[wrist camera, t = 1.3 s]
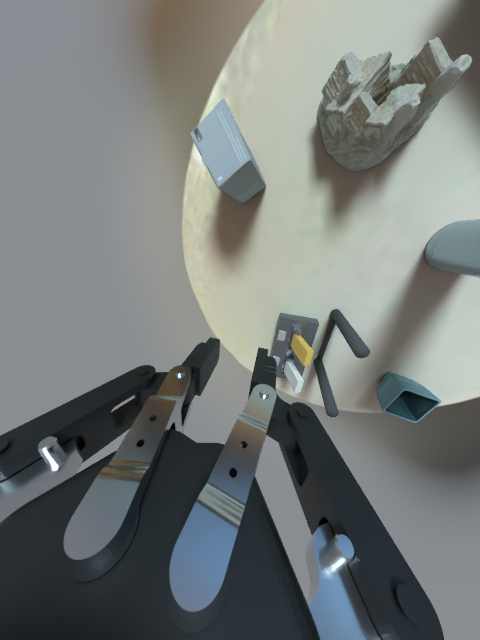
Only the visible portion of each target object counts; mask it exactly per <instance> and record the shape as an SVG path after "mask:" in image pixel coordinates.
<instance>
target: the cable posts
mask: <svg viewBox="0 0 480 640" xmlns="http://www.w3.org/2000/svg"><path fill="white" fill-rule="evenodd" d="M331 317H332V320H331V322H330V325H329V328H328V331H327V333H326V336H325V339H324V342H323V344H322V347H321V350H320V353H319V356H318V358H316V359H315V360H314V365H315V369H316V373H317V377H318V381H319V385H320V389H321V393H322V397H323V401H324V405H325V409H326V413H327V415H328V416H330V417H336V416H337V415H338V414H339V412H338V409H337V406H336V403H335V400H334V397H333V393H332V390H331V387H330V384H329V381H328V378H327V374H326V371H325V368H324V365H323V362H322V358H323V355H324V352H325V350H326V347H327V344H328V342H329V339H330V337H331V334H332V331H333V329H334V326H335V323H336V325H337V326H338V328H339V330H340V331H341V333H342V335H343V336H344V338H345V340H346V341H347V343H348V344H349V346H350V348H351V349H352V351H353V353H354V354H355V356H356V357H358V358H365V357H367V356H368V355H369V354H370V350H369V348H368V347H367V346H366V345H365V343H364V342H363V341H362V339H361V338H360V337H359V335H358V334H357V333H356V331H355V330H354V329H353V328H352V326H351V325H350V324H349V322H348V321H347V320H346V318H345V317H344V316H343V314H342V313H341V312H340V311H339V310H338V309H335V310H332V311H331Z"/></svg>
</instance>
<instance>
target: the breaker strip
mask: <svg viewBox="0 0 480 640" xmlns="http://www.w3.org/2000/svg"><path fill="white" fill-rule="evenodd" d="M318 326H319V323H318V320H317V319H313V318H307V317H301V316H295V315H290V314H284V313H280V317H279V322H278V326H277V331H276V335H275V340H274V345H273V349H272V354H271V357H274V358H275V360H276V362H277V367H276V376H279V377H283V378H287V377H286V375H285V373H284V368H285V364H286V361H289V362H293V364H294V365H295V367H296V369H297V370H298V372H299V374H300V375H301V377H302V374H303V371H304V368H305V366H303V365H302V363H301V362H300V360H299V359H298V357H297V355H296V354H295V352H294V351H293V349H292V348H291V346H290V345H291V342H292V338H293V334H298V335H301V336H302V338H303V339H304V340H305V341H306V343H307V344H308V345H309V346H310V347H312V344H313V341H314V338H315V335H316V332H317V329H318Z"/></svg>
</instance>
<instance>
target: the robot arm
mask: <svg viewBox="0 0 480 640" xmlns="http://www.w3.org/2000/svg"><path fill="white" fill-rule="evenodd" d="M425 258H426V261H427V262H428V264H429V265H431V266H432V267H434V268H437V269H441V270H446V271H451V272H455V273H460V274H465V275H469V276H474V277H479V278H480V219H478V220H467V221H458V222H455V223H452V224H449V225H447V226H445V227H444V228H442V229H441V230H439V231H438V232H437V233H436V234H435V235H434V236H433V237H432V238H431V239H430V241H429V243H428V244H427V247H426V251H425ZM219 349H220V339H216V338H209V339H208V341H207V342H206V343H203V342H202V343H200V344H198V345H197V346H196V347H195V348H194V350H193V351H192V352H191V354H190V355H189V356H188V357H187V359H186V360H185V361H184V362H183V364H182V365H179V366H175V367H173V368H172V369H171V370H170V371H169V372H156V371H155V368H154V367H153V366H150V365H144V366H140V367H137V368H135V369H133V370H131V371H129V372H127V373H125V374H123V375H121V376H119V377H117V378H116V379H113V380H111V381H109V382H107V383H105V384H103V385H101V386H100V387H97V388H95V389H93V390H91V391H89V392H87V393H85V394H83V395H81V396H79V397H77V398H75V399H73V400H71V401H69V402H67V403H65V404H63V405H61V406H59V407H57V408H55V409H53V410H51V411H49V412H47V413H45V414H43V415H41V416H39V417H37V418H35V419H33V420H31V421H29V422H27V423H25V424H23V425H21V426H19V427H17V428H15V429H13V430H11V431H9V432H7V433H5V434H3V435H1V436H0V640H444V636H443V632H442V628H441V625H440V622H439V619H438V617H437V614H436V612H435V610H434V608H433V606H432V604H431V602H430V600H429V598H428V597H427V595H426V593H425V592H424V590H423V589H422V587H421V585H420V584H419V582H418V580H417V579H416V577H415V575H414V574H413V572H412V571H411V569H410V567H409V566H408V564H407V562H406V561H405V559H404V558H403V556H402V554H401V553H400V551H399V549H398V548H397V546H396V545H395V543H394V542H393V540H392V538H391V536H390V535H389V533H388V532H387V530H386V528H385V527H384V525H383V523H382V522H381V520H380V519H379V517H378V515H377V514H376V512H375V511H374V509H373V507H372V506H371V504H370V502H369V501H368V499H367V497H366V496H365V495H364V493H363V491H362V489H361V488H360V486H359V485H358V483H357V481H356V480H355V478H354V476H353V475H352V473H351V471H350V470H349V468H348V467H347V465H346V463H345V462H344V460H343V458H342V457H341V455H340V454H339V452H338V450H337V449H336V447H335V445H334V444H333V442H332V441H331V439H330V437H329V436H328V434H327V433H326V431H325V429H324V428H323V426H322V424H321V423H320V421H319V419H318V418H317V416H316V415H315V413H314V411H313V410H312V409H311V408H310V407H309V406H307V405H306V404H303V403H299V402H296V403H293V404H292V405H290V404H288V403H286V402H284V401H283V400H282V399H280V398H279V396H278V395H277V393H276V389H275V388H276V367H277V362H276V360H275V358H274V357H269V356H267V355H268V349H264V348H258V353H257V357H256V362H255V366H254V371H253V376H252V380H251V386H250V392H249V398H248V402H247V404H246V406H245V408H244V410H243V412H242V414H240V415H239V416H238V418H237V420H236V422H235V424H234V426H233V429H232V431H231V433H230V435H229V437H228V439H227V441H226V443H225V445H223V444H220V443H196V442H195V441H193V440H191V439H190V438H189V437H187V436H186V435H184V434H183V432H184V428H185V425H186V421H187V419H188V416H189V412H190V409H191V406H192V400H193V398H194V396H195V395H198V396H200V395H201V393H202V391H203V390H204V388H205V386H206V384H207V382H208V380H209V378H210V376H211V374H212V372H213V370H214V368H215V366H216V365H217V362H218V359H219ZM133 395H134V396H135V398H134V399H132V400H131V401H129V402H128V403H126V404H124V405H122V406H121V407H119V408H118V409H116V410H114V411H113V412H111V411H112V409H113V408H114V407H115V406H117V405H118V404H120V403H121V402H123V401H125V400H126V399H128V398H130V397H131V396H133ZM128 429H130V430H129V431H128V433H127V435H126V436H125V438H124V440H123V441H122V443H121V445H120V446H119V448H118V450H117V451H115V452H113V453H111V454H110V455H108V456H106V457H105V458H103V459H101V460H100V461H98V462H96V463H94V464H93V465H91V466H89V467H88V468H86V469H84V470H82V471H81V472H79V473H77V470H78V469H79V467H80V466H81V464H82V463H83V462H84V461H86V460H87V459H88V458H90V457H91V456H93V455H94V454H95V453H97V452H98V451H99V450H101V449H102V448H104V447H105V446H106V445H108V444H109V443H110V442H112V441H113V440H114V439H116V438H117V437H119V436H120V435H121V434H123V433H124V432H125V431H127V430H128ZM266 435H268V436H269V437H271V438H272V439H274V440H276V441H277V442H278V443H279V445H280V448H281V451H282V454H283V457H284V459H285V462H286V465H287V468H288V470H289V473H290V476H291V479H292V481H293V484H294V487H295V490H296V492H297V495H298V498H299V501H300V504H301V506H302V509H303V512H304V514H305V517H306V520H307V523H308V526H309V528H310V531H311V534H312V537H311V538H310V539H309V541H308V543H307V547H306V562H307V567H308V571H309V576H310V594H309V599H308V601H307V602H306V600H305V597H304V595H303V592H302V590H301V587H300V585H299V583H298V580H297V578H296V575H295V573H294V570H293V568H292V565H291V563H290V560H289V558H288V556H287V553H286V551H285V548H284V546H283V543H282V541H281V538H280V536H279V534H278V531H277V529H276V526H275V524H274V522H273V519H272V517H271V514H270V512H269V509H268V507H267V504H266V502H265V499H264V497H263V495H262V492H261V490H260V487H259V485H258V483H257V480H256V478H255V473H256V470H257V466H258V462H259V459H260V455H261V452H262V448H263V445H264V441H265V438H266Z"/></svg>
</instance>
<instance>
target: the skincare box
mask: <svg viewBox="0 0 480 640" xmlns="http://www.w3.org/2000/svg"><path fill="white" fill-rule="evenodd" d="M191 137H192V139H193V141H194V143H195V145H196V147H197V149H198V151H199V153H200V155H201V158H202V162H203V163H204V165H205V166H206V167H207V168H208V171H209V172H210V174H211V176H212V178H213V180H214V182H215V184H216V186H217V188H218V189H220V190H222V191H223V192H225V193H226V194H228V195H229V196H231V197H233V198H234V199H236V200H237V201H239V202H240V203H242V204H243V203H245V202H246V201H247V200H249V199H250V198H251V197H253V196H254V195H255V194H257V193H258V192H259V191H260V190H262V189H263V188H264V187H266V184H265V182H264V179H263V177H262V175H261V172H260V170H259V168H258V166H257V164H256V161H255V159H254V157H253V155H252V153H251V151H250V149H249V148H248V146H247V144H246V142H245V140H244V138H243V136H242V134H241V132H240V130H239V128H238V126H237V124H236V122H235V120H234V118H233V116H232V114H231V112H230V110H229V108H228V106H227V104H226V102H225V100H224V98H223V99H222V100H221V101H220V102H219V103H218V104H217V105H216V106H215V108H214V109H213V110H212V111H211V112H210V113H209V114H208V115H207V116H206V117H205V118H204V119H203V121H202V122H201V123H200V124H199V125H198V126H197V127H196V128H195V129H194V130H193V131H192V133H191Z"/></svg>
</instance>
